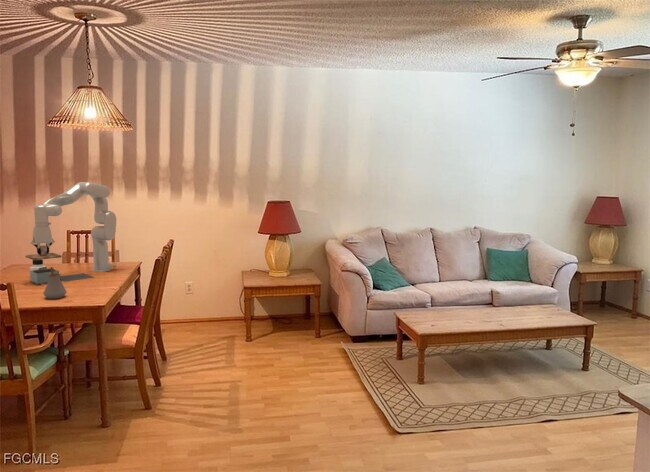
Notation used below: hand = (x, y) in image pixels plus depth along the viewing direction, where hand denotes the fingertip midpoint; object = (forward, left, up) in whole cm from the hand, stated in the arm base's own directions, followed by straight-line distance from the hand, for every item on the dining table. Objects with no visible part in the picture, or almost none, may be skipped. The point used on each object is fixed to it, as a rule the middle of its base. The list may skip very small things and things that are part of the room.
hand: (43, 253), depth 334 cm
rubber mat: (-18, 0, -18) cm, 26 cm away
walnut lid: (0, 0, -2) cm, 2 cm away
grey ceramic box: (0, 0, -18) cm, 18 cm away
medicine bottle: (-2, -18, -18) cm, 26 cm away
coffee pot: (+9, +42, -18) cm, 47 cm away
